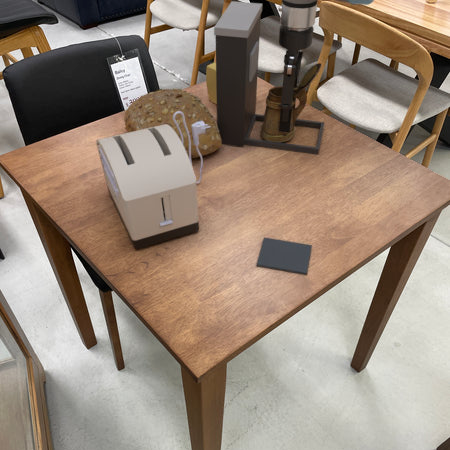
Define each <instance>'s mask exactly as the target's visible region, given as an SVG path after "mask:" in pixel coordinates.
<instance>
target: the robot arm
mask: <svg viewBox="0 0 450 450" xmlns="http://www.w3.org/2000/svg"><path fill="white" fill-rule="evenodd" d="M335 1H337V2H342V3H347V4H350V5H354V6H355V5H361V6H362V5H364V6H368V5H370V4H373V2H374V1H375V0H335ZM317 9H318V0H281V5H279V6H278V12H281V13H280V21H279V23H280V26H279V30H278V44H279V46H280V47H281V48H283V49H285V50H286V51H285V54H284V56H283V64H284V65H283V71H282V74H283V79H282V86H281V87H282V97H281V104H279V105H278V107H280V109H281V114H280V125H279V131H281V132H290V125H291V116H292V107H293V108H296V103H297V98H294V99H295V104H294V105H293V106H292V101H293V93H294V88H297V87H298V86H299V84H300V81H299V79H300V70H301V67H302V61H303V57H304V51H303V50H305V49H308V48H310V47H311V45H312V44H313V38H314V36H313V35H314V30H315V27H314V25H315V24H316V16H317Z"/></svg>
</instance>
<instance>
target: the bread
mask: <svg viewBox="0 0 450 450" xmlns="http://www.w3.org/2000/svg"><path fill="white" fill-rule="evenodd" d="M178 111H180V112H182V113H183V114H184V116H185V123H186V126H187V129H188V131H189V135H190V140H191V159H195V158H200V156H199V154H198V152H197V149H196V145H194V139H193V134H192V127H191V125H192V124H194V123H196V122H199V121H203V122H204V124H205V125H206V124H208V126H211V127H210V128H206V133H204V134H200V135H199V145H198V149H199V152H200V154H201V156H202V157H204V156H207V155H209V154H212V153H214V152H215V151H217V150H219V149H220V148H221V147H222V145H223V144H222V142H221V141H222V139H221V138H220V134H219V130H218V127H217V120H214V115H213V114H212V113H211V112H210V110H209V109H208V108H207V106H206V105H205V103H203V102H202V99H201V98H200V97H198V95H195V94H193V93H191V92H189V91H187V90H182V88H171V89H170V88H164V89H162V88H159V89H158V90H156V91H151V92H149V93H145V94H143V95H140V96H139V97H138V98H137V99H136V100H134V101H132V102H131V104H130V105H129V106H128V107H127V109H125V113H124V115H123V121H124V125H125V127H124V130H126V133H129V132H134V131H138V130H142V129H147V128H151V127H156V126H160V125H164V124H167V125H169V126H170V127H171V128H172V129H173V130H174V131H175V132H176V134H177V135H178V137H179V138H180V140H181V135H180V133H179V131H178V128H177V126H176V125H175V122H174V120H173V115H174V114H175V113H176V112H178ZM175 120H176V122H177V124H178V126H179V128H180V130H181V132H182V135H183V140H184V143H183V146H184V148H185V150H186V152H187V155H188V157H189V139H188V135H187V132H186V129H185V126H184V123H183V116H182V115H181V114H177V115H176V116H175ZM205 127H207V126H205ZM181 142H182V140H181Z"/></svg>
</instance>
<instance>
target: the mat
mask: <svg viewBox="0 0 450 450" xmlns="http://www.w3.org/2000/svg"><path fill="white" fill-rule="evenodd" d="M312 247H313V245H312V244H307V243H301V242H294V241H288V240H283V239H276V238H270V237H265V236H263V238H262V243H261V246H260V250H259V254H258V258H257V261H256V265H255V266H256V267H260V268H266V269H271V270H276V271H282V272H288V273H293V274H299V275H305V276H306V275H308V270H309V265H310V259H311V253H312Z"/></svg>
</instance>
